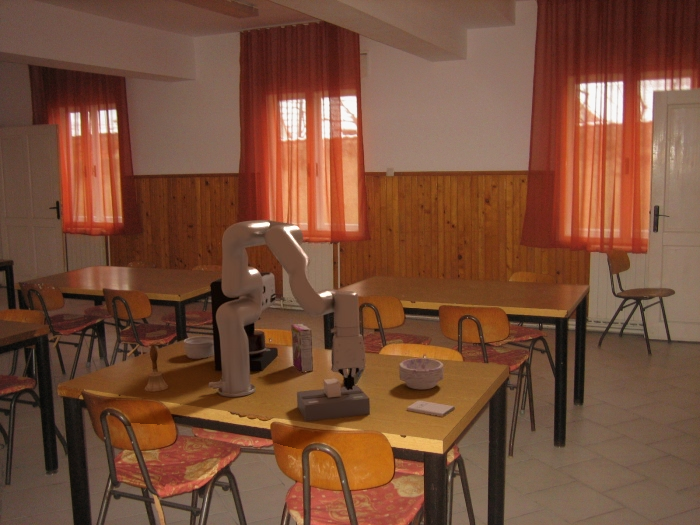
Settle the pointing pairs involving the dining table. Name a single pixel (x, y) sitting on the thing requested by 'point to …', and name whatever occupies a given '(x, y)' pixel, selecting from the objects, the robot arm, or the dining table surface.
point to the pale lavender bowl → (421, 373)
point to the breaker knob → (332, 387)
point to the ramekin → (199, 347)
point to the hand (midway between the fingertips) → (348, 388)
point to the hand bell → (155, 374)
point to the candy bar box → (302, 347)
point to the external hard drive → (430, 408)
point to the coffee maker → (256, 338)
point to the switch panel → (332, 404)
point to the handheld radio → (357, 375)
